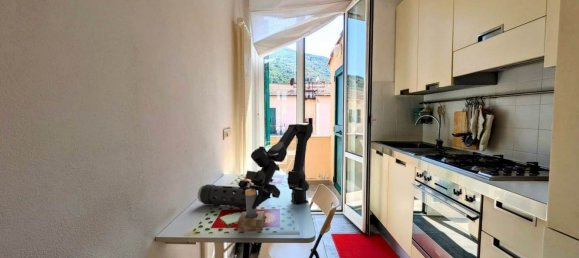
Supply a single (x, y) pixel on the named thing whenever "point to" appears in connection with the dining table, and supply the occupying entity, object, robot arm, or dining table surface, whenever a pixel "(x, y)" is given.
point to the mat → (231, 218)
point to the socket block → (251, 222)
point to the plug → (250, 203)
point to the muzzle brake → (222, 195)
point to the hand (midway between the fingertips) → (248, 207)
